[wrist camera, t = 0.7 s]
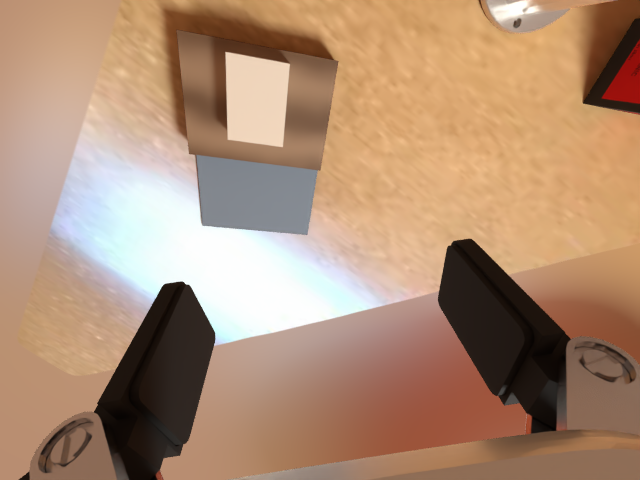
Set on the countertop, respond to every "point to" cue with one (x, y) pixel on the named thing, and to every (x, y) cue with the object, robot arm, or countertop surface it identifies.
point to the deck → (211, 102)
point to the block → (256, 99)
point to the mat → (255, 195)
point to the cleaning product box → (620, 76)
